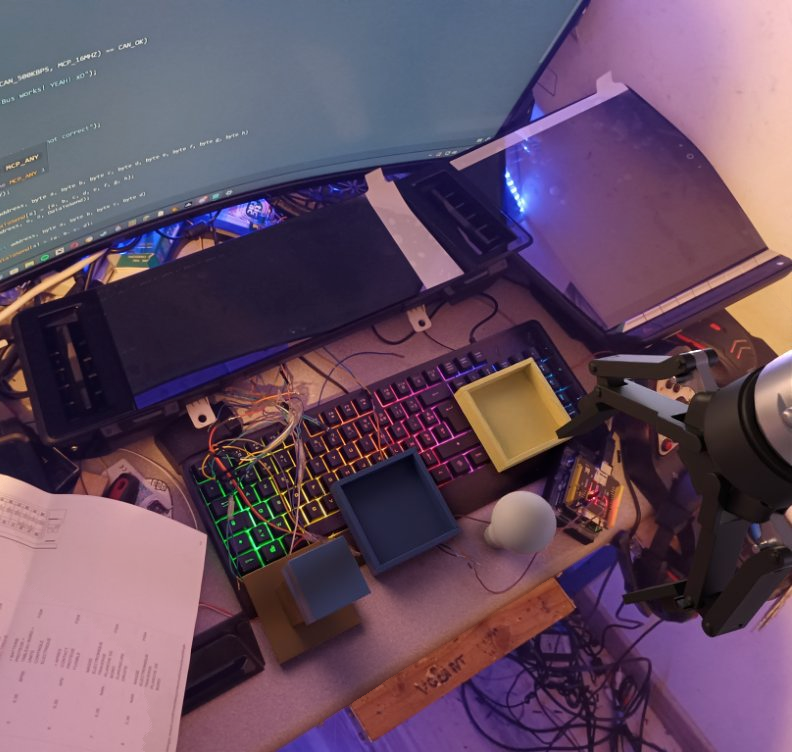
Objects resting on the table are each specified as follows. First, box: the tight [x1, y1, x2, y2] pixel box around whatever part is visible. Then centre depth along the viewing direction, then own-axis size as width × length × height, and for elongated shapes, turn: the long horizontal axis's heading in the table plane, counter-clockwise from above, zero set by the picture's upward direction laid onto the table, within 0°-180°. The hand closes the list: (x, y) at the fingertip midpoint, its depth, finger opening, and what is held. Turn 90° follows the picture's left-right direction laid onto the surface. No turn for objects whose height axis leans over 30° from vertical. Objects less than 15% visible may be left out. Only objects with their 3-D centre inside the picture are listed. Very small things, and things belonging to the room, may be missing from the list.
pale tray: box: [453, 357, 574, 474], centre depth 83 cm, size 10×10×3 cm
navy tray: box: [329, 446, 462, 578], centre depth 76 cm, size 10×10×3 cm
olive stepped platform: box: [241, 539, 361, 665], centre depth 67 cm, size 9×9×12 cm
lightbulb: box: [483, 490, 557, 555], centre depth 73 cm, size 6×6×11 cm
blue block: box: [282, 535, 372, 625], centre depth 59 cm, size 5×5×5 cm
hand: (603, 510), depth 58 cm, fingers open, 13 cm apart
